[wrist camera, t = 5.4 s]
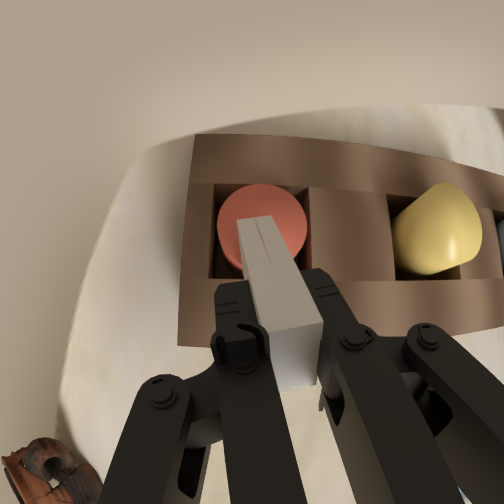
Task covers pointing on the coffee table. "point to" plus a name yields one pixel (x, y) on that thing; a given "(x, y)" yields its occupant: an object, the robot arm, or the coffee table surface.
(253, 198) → the red button
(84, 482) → the pottery mug
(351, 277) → the console
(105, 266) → the coffee table surface
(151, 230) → the coffee table surface
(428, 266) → the mustard button
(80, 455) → the coffee table surface
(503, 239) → the slate button
